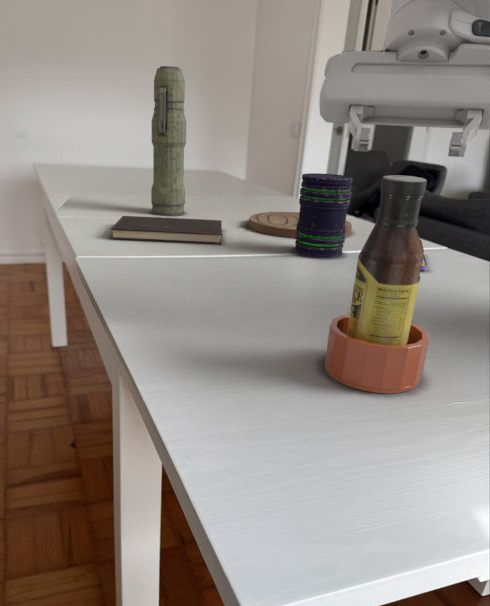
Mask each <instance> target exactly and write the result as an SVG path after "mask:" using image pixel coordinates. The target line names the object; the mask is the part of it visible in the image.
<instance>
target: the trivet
mask: <svg viewBox="0 0 490 606" xmlns="http://www.w3.org/2000/svg"><path fill="white" fill-rule="evenodd" d="M299 213H300V211H299V212H298V211H268V212H267V211H266V212H259V213H254V214H252V215H250V216H249V217H248V227H249V228H250V229H251V230H252V231H255V232H258V233H262V234H264V235H265V234H266V235H271V236H277V237H281V238H282V237H283V238H291V239H295V235H296V232H297V231H296V227H297V224H298V222H299ZM345 227H346V233H345V235H344V236H345V237H348V236H350V235H351V233H352V227H353V224H352V223H351V221H348V220H347V219H346V222H345Z"/></svg>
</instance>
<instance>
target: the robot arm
mask: <svg viewBox="0 0 490 606" xmlns="http://www.w3.org/2000/svg"><path fill="white" fill-rule="evenodd" d="M323 74H324V80H323V82H322V85H321V88H320V92H319V105H318V106H319V116H320V117H321V118H322V119H323V121H324V122H325V123H328V124H329V123H331V124H348V130H349V132H350V133H351V135H352V137H353V139H354V141H353V142H354V143H353V151H354V152H366V153H367V152H369V146H370V142H371V133H372V128H371V127H364V126H363V125H374V126H392V127H393V126H394V127H395V126H397V127H419V128H438V129H439V128H441V129H442V128H443V129H462V131H452V133H451V138H450V141H449V144H448V152H447V157H451V158H452V157H454V158H464V156H465V153H466V151H467V146H468V144H469V143H470V142H471V141H472V140H473V139H474V138H475V137H476V136H477V135H478V132H479V130H483V131H484V130H485V131H486V130H488V131H490V0H392V1H391V6H390V19H389V21H388V24H387V27H386V32H385V37H384V42H383V47H382V49H380V50H379V49H375V50H374V49H373V50H371V49H368V50H367V49H366V50H353V49H346V50H342V51H341V53H338V54H335V55H333V56H330V57H328V58H327V61H326V64H325V68H324V73H323Z"/></svg>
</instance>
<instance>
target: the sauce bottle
mask: <svg viewBox="0 0 490 606" xmlns="http://www.w3.org/2000/svg"><path fill="white" fill-rule="evenodd" d="M427 185H428V181H427V179H426V178H424V177H419V176H413V175H400V174H394V175H393V174H392V175H391V174H390V175H384V176H382V178H381V184H380V188H379V191H380V201H379V208H378V211H377V212H378V213H377V216H376V218H375V220H376V221H375V224H374V225H373V228H372V229H371V232H370V233H369V235H368V237H367V239H366V241H365V243H364V245H363V246H362V249H361V250H360V252H359V254H358V256H357V262H356V269H355V277H354V284H353V289H352V296H351V303H350V309H349V314H350V316H349V323H348V330H347V335H348V336H350V337H352V338H354V339H358V340H361V341H364V342H368V343H374V344H381V345H407V342H408V337H409V332H410V327H411V323H413V322H412V321H413V316H414V311H415V307H416V302H417V296H418V293H419V292H418V291H419V286H420V282H421V276H420V275H421V271H422V270H421V266H422V262H423V254H424V255H425V250H424V246H423V241H422V240H421V238H420V236H419V232H418V230H417V227H418V224H419V221H420V220H419V215H420V210H421V204H422V200H423V199H424V197H425V194H426V190H427Z"/></svg>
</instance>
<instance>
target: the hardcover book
mask: <svg viewBox="0 0 490 606" xmlns="http://www.w3.org/2000/svg"><path fill="white" fill-rule="evenodd" d="M222 230H223V229H222V219H221V220H220V219H203V218H202V219H201V218H181V217H162V216H161V217H159V216H141V215H140V216H137V215H135V216H134V215H122V216H121V217H120V218H119V219H118V220H117V222H115V223H114V225H112V226H111V228H110V231H112V236H111V238H110V240H116V241H137V242H159V243H179V244H181V243H182V244H203V245H222V235H223V234H222Z"/></svg>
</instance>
